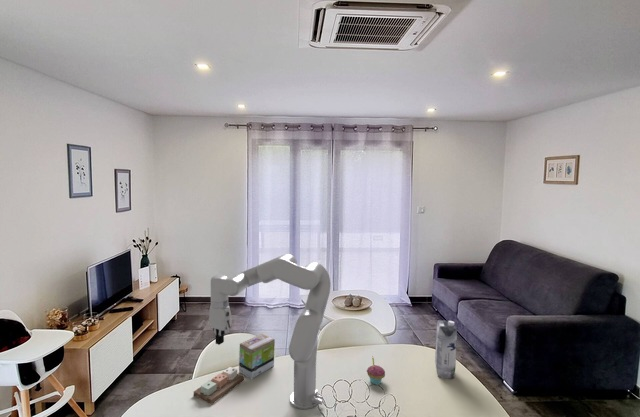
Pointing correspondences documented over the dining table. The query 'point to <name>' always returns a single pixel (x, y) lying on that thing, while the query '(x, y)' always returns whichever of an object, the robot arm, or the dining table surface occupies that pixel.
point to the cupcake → (375, 373)
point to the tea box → (256, 355)
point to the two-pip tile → (230, 373)
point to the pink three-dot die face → (220, 380)
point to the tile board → (219, 390)
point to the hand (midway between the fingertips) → (219, 343)
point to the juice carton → (446, 349)
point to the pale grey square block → (208, 388)
